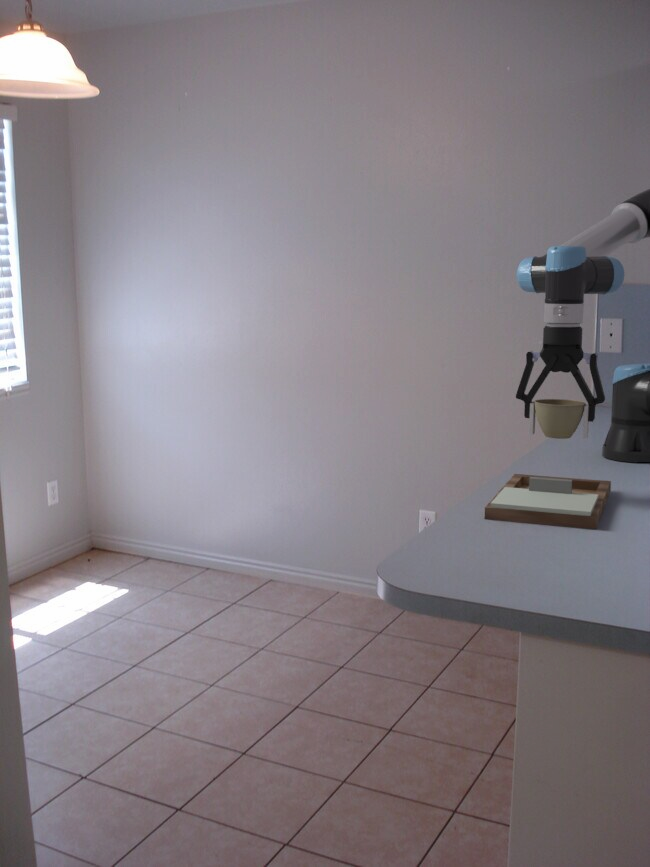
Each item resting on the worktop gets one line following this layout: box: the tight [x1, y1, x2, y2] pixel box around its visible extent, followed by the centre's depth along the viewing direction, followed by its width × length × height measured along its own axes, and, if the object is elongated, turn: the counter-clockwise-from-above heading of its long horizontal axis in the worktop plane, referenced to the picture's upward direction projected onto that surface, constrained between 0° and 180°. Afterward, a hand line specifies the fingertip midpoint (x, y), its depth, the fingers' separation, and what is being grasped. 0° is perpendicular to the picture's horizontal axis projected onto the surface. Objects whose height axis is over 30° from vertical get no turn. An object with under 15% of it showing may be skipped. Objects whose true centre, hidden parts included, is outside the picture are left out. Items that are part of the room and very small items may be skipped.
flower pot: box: [533, 398, 586, 440], centre depth 191 cm, size 10×10×7 cm
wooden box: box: [484, 473, 612, 530], centre depth 187 cm, size 31×20×2 cm, turn 159°
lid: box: [491, 477, 598, 516], centre depth 179 cm, size 14×18×3 cm
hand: (558, 435), depth 191 cm, fingers closed on flower pot, 10 cm apart
